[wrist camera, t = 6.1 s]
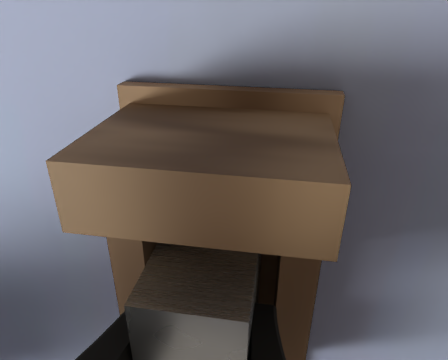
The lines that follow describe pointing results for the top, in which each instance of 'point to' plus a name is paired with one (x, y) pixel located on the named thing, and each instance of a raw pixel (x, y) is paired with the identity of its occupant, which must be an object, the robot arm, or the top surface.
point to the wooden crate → (214, 185)
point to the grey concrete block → (193, 304)
